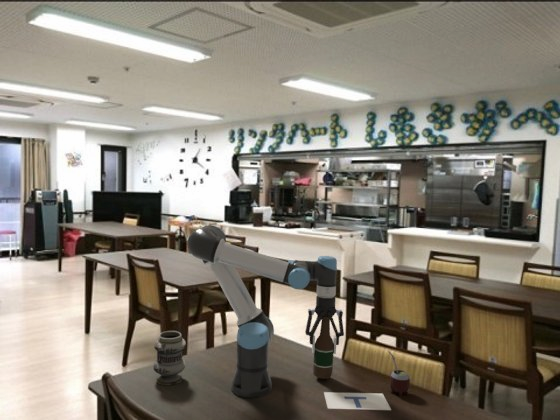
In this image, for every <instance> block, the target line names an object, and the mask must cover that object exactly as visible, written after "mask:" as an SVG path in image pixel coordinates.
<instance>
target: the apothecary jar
mask: <svg viewBox="0 0 560 420" xmlns="http://www.w3.org/2000/svg"><path fill="white" fill-rule="evenodd" d="M182 336H183V335H182V333H181V332H180V331H177V330H167V331H163V332H161V333H159V335H158V338H157V339H156V340H155V341H154V345H153V346H154V349H155V351H156V360H155V361H154V363H153V366H152V367H153V370H154V372H155V373H157V374H158V375H159V376H157V377H156V379H155V381H156V383H157V384H159V385H161V386H171V385H177V384H179V383H181V382H182V380H183V377H182V375H180V373H182V372H183V371H184V369H185V368H186V365H187V364H186V361H185V360H184V358H183V350H184V349H185V347H186V344H187V343H186V340H185V339H184V338H183V337H182Z"/></svg>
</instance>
